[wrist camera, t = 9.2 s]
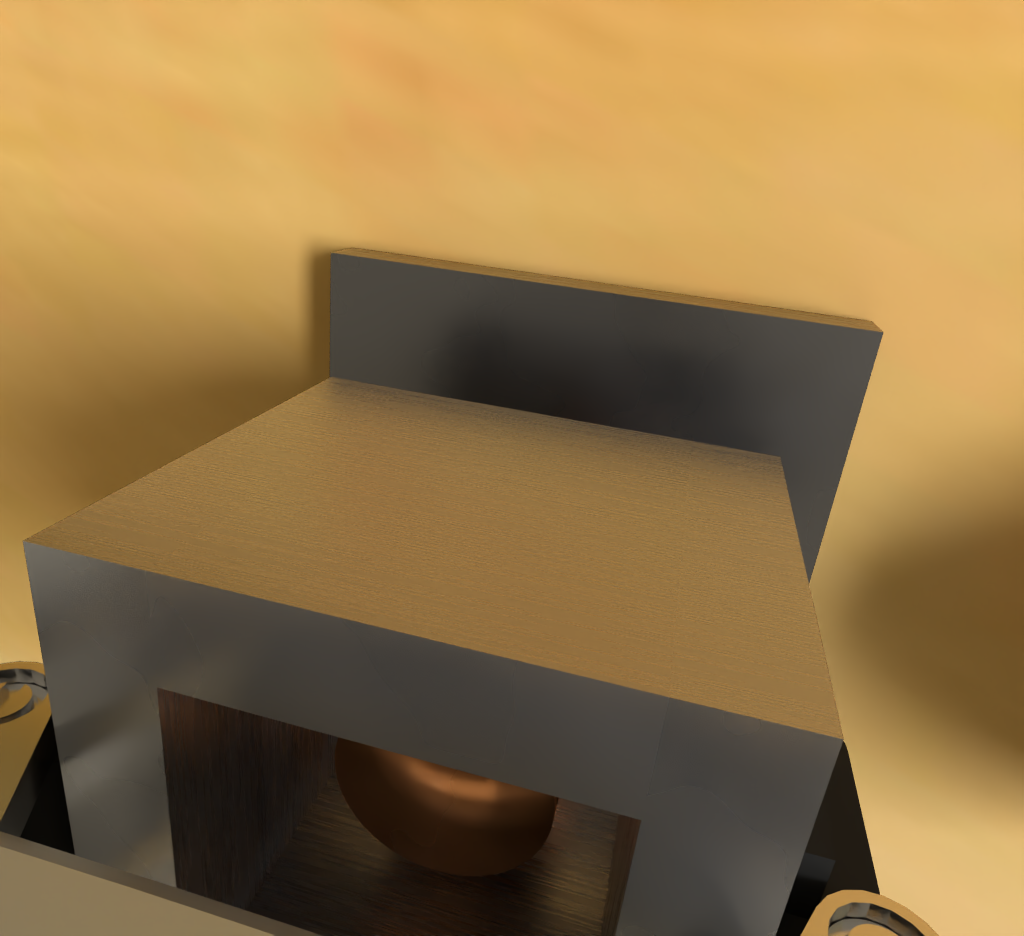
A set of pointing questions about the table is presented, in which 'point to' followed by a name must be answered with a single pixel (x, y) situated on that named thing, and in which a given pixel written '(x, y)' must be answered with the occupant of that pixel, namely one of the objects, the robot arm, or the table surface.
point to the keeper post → (589, 398)
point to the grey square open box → (443, 666)
